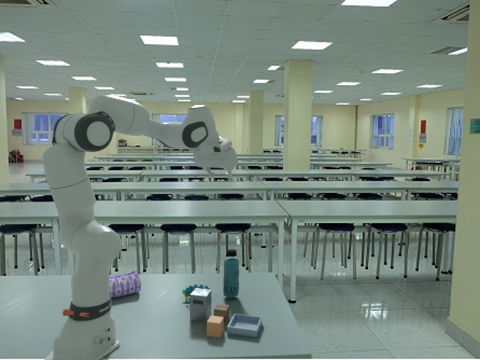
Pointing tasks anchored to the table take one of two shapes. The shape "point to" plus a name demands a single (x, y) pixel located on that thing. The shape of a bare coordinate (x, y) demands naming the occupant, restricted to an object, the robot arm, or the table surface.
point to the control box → (200, 305)
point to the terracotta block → (215, 326)
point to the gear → (191, 289)
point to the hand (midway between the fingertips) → (220, 176)
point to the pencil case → (124, 284)
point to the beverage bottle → (231, 274)
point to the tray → (244, 325)
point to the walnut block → (222, 311)
